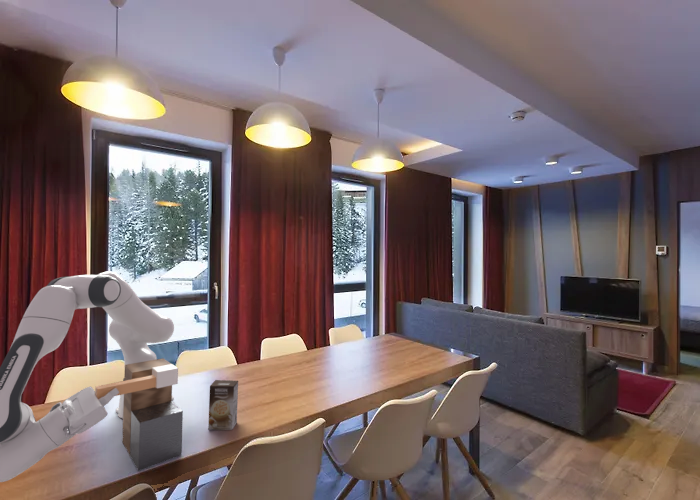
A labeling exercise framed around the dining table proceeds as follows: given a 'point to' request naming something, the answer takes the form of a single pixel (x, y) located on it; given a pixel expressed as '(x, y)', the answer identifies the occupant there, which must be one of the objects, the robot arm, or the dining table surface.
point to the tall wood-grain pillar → (142, 394)
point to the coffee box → (223, 405)
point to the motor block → (156, 434)
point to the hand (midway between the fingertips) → (116, 387)
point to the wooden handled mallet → (143, 381)
